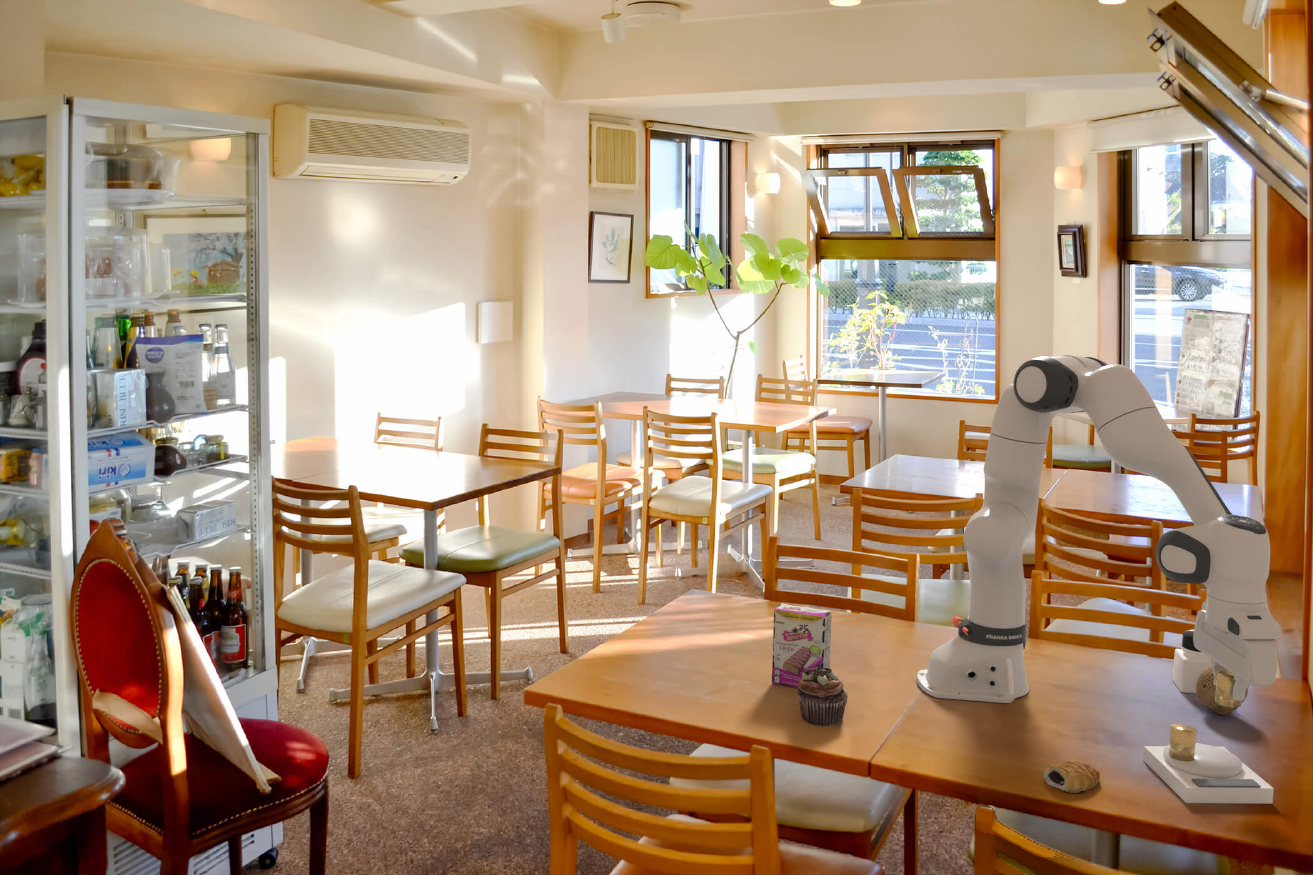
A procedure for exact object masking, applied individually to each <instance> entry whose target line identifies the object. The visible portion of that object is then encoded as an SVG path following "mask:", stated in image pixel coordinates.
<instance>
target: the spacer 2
mask: <svg viewBox="0 0 1313 875" xmlns="http://www.w3.org/2000/svg"><path fill="white" fill-rule="evenodd" d="M1235 682H1236V680H1234V674H1233V673H1231V672H1230V671H1227V670H1222V671H1218V672H1217V681H1216V693H1215V702H1216V703H1217V704H1219V705H1222V706H1225V707H1232V708H1236V707H1239V708H1240V707H1242V705H1243V703H1242V700H1235V699H1233V698H1232V697H1231V696H1230V687H1234V684H1235Z"/></svg>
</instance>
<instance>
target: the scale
mask: <svg viewBox="0 0 1313 875" xmlns="http://www.w3.org/2000/svg"><path fill="white" fill-rule="evenodd" d="M1142 757H1143V758H1142V760H1143V762H1144V763H1145V764H1146V765H1147V766H1148V767H1149V768H1150V769H1151V770H1152V771H1153V772H1154V773H1155V774H1156V775H1157V776H1158V777H1160V779H1161V780H1162V781H1163V782H1165V784H1166V785H1167V786H1168V787H1169V788H1171V789H1172V791H1173V792H1174V793H1175V794H1176V795H1177V796H1178V797H1180V799H1181V800H1182V801H1183V802H1184V803H1185V804H1256V805H1257V804H1258V805H1259V804H1273V800H1274V787H1273V786H1271V784H1269V783H1268V782H1266V781H1265V780H1264V779H1263V778H1262V777H1261V776H1259V775H1258V774H1257V773H1256V772H1255V771H1253V769H1251V768H1249V767H1248V765H1246V764H1245V763H1244V762H1242V760H1241V759H1240V758H1239V757H1238V756H1237V755H1235V754H1234V753H1233V752H1230V750H1228V749H1227V748H1226V747H1225V746H1214V745H1210V744H1205V743H1200V742H1196V745H1195V758H1194V760H1193V761H1189V762H1186V761H1179V760H1176V759H1173V758H1171V757H1170V756H1169V744H1168V745H1165V746H1164V745H1163V746H1161V745H1160V746H1159V745H1158V746H1157V745H1155V746H1154V745H1144V746H1143V756H1142Z"/></svg>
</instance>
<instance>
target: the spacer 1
mask: <svg viewBox="0 0 1313 875" xmlns="http://www.w3.org/2000/svg"><path fill="white" fill-rule="evenodd" d="M1169 731H1170V732H1169V744H1168V745H1169V756H1170V757H1171V758H1173V759H1176V760H1179V761H1186V762H1189V761H1193V760H1194V758H1195V745H1196V743H1197V728H1196V727H1193V726H1192V725H1190V724H1189V725H1188V724H1185V723H1184V724H1183V723H1173V724H1171V725H1170V730H1169Z"/></svg>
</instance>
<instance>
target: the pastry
mask: <svg viewBox="0 0 1313 875" xmlns="http://www.w3.org/2000/svg"><path fill="white" fill-rule="evenodd" d="M1042 778H1043V780H1044V781H1045V783H1046V784H1047V785H1049V786H1051V787H1053V788H1056V789H1058V790H1061V791H1062V792H1064V791H1065V792H1066V793H1069V794H1075V793H1076V794H1077V793H1080V792H1087V791H1089V790H1090V789H1091V790H1092V788H1094V787H1096V786H1097V785H1098V784H1099V782H1100V779H1101V775H1100V771H1099V770H1097V768H1095V767H1093V765H1091V764H1089V763H1081V762H1079V761H1078V762H1077V761H1069V760H1060V761H1059V762H1058V761H1057V762H1052V763H1051V765H1048V767H1047V768H1046V769H1045V771H1043V773H1042Z"/></svg>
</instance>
